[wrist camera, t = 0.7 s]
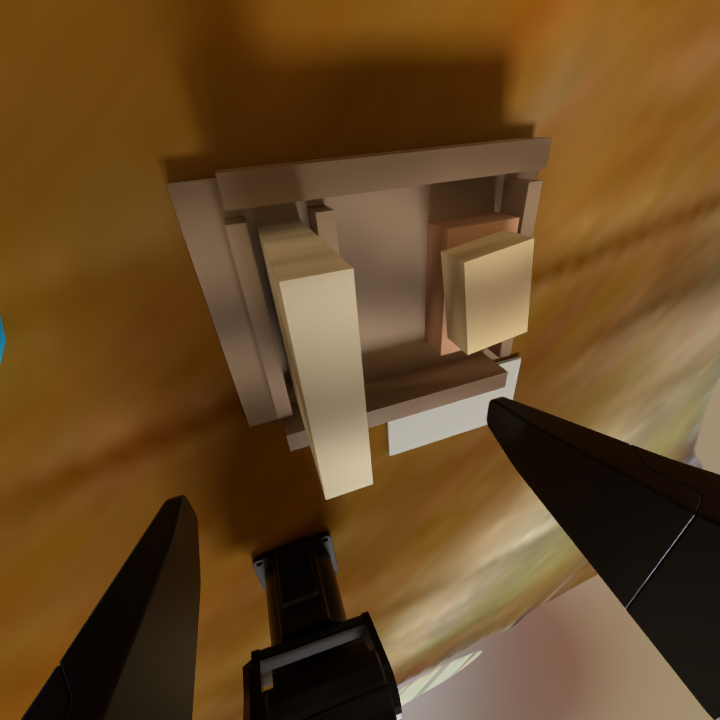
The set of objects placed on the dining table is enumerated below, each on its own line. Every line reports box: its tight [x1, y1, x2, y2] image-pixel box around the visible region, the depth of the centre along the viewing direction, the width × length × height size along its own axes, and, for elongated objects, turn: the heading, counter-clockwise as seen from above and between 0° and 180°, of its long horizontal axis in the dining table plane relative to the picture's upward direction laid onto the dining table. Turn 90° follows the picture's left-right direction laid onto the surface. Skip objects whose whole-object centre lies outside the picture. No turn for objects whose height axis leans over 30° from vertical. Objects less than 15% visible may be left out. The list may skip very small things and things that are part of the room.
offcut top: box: [441, 230, 534, 355], centre depth 17 cm, size 5×4×2 cm
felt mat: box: [387, 356, 521, 456], centre depth 26 cm, size 6×11×1 cm, turn 95°
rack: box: [166, 137, 552, 451], centre depth 18 cm, size 14×18×3 cm
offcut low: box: [425, 212, 520, 356], centre depth 19 cm, size 7×4×2 cm, turn 5°
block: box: [256, 220, 373, 500], centre depth 15 cm, size 9×2×8 cm, turn 5°
